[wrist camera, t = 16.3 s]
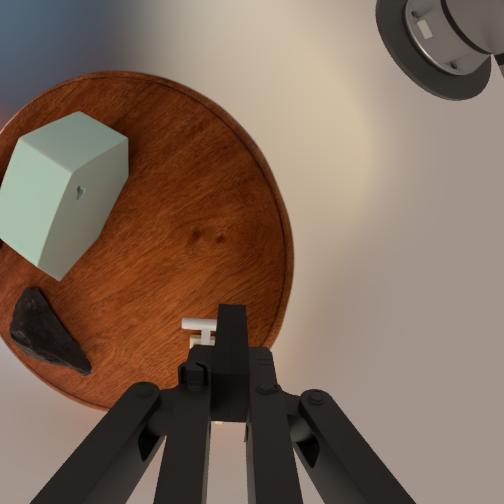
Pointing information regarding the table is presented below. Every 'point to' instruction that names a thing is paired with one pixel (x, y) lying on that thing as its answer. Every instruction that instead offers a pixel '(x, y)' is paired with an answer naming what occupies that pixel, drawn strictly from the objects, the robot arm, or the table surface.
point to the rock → (44, 334)
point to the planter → (61, 190)
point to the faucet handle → (201, 327)
